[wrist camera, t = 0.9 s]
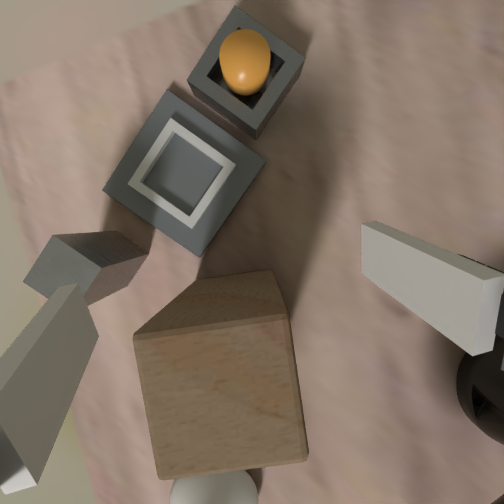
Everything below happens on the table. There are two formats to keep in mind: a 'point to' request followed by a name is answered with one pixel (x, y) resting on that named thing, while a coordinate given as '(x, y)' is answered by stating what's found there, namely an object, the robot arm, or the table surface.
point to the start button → (245, 61)
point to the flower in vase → (215, 489)
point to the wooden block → (222, 379)
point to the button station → (246, 106)
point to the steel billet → (86, 264)
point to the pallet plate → (183, 174)
